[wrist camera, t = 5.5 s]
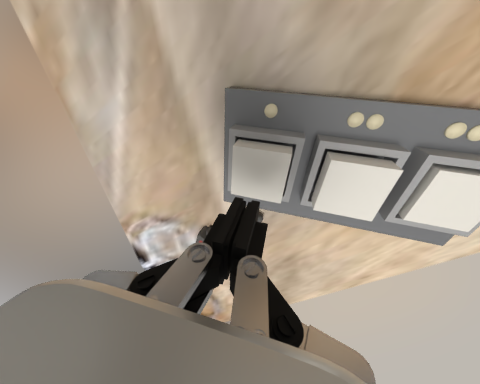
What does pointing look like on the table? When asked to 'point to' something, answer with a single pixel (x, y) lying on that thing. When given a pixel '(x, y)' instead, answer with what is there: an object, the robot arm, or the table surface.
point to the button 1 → (260, 170)
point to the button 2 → (354, 185)
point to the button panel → (353, 148)
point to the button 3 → (445, 198)
